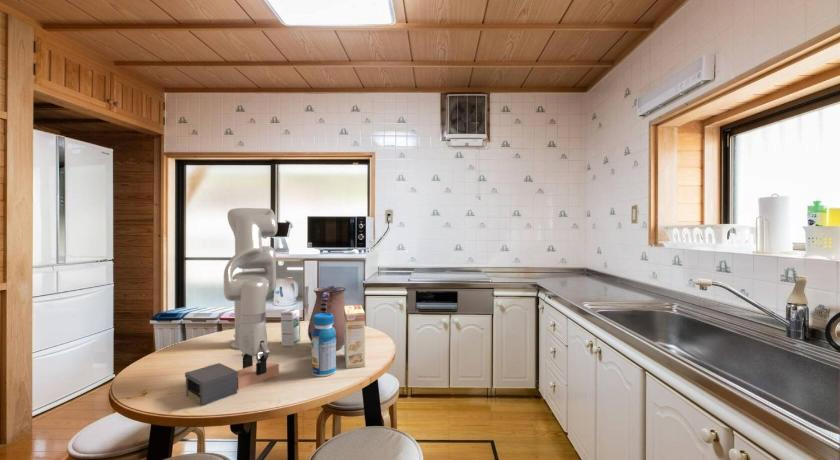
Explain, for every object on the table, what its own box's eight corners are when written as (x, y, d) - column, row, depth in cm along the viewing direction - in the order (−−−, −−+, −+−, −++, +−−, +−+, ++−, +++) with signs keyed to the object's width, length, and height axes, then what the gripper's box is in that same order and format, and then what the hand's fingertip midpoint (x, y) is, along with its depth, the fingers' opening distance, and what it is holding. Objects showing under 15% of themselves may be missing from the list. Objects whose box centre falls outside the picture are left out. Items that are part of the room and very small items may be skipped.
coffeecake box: (365, 366, 133) (365, 312, 133) (345, 369, 132) (345, 314, 132) (362, 353, 148) (361, 304, 148) (344, 354, 146) (343, 305, 146)
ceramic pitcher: (350, 340, 165) (350, 283, 165) (352, 356, 145) (351, 292, 145) (309, 343, 162) (308, 285, 161) (305, 360, 141) (304, 294, 141)
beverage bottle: (330, 378, 124) (329, 318, 124) (307, 376, 125) (306, 317, 125) (340, 368, 132) (339, 312, 132) (318, 367, 134) (317, 311, 134)
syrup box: (293, 346, 158) (293, 312, 158) (281, 345, 159) (280, 311, 159) (300, 342, 164) (300, 309, 163) (288, 341, 165) (287, 308, 165)
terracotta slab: (228, 385, 120) (228, 373, 120) (269, 371, 131) (268, 360, 131) (238, 390, 116) (238, 377, 116) (278, 375, 127) (278, 363, 127)
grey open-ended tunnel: (185, 395, 112) (185, 372, 112) (219, 383, 120) (219, 362, 120) (202, 406, 105) (202, 382, 105) (238, 393, 113) (237, 371, 113)
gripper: (229, 316, 126) (230, 368, 126) (256, 324, 115) (257, 381, 115) (251, 312, 131) (251, 362, 132) (278, 319, 121) (279, 373, 121)
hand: (254, 370), depth 123 cm, fingers open, 8 cm apart
